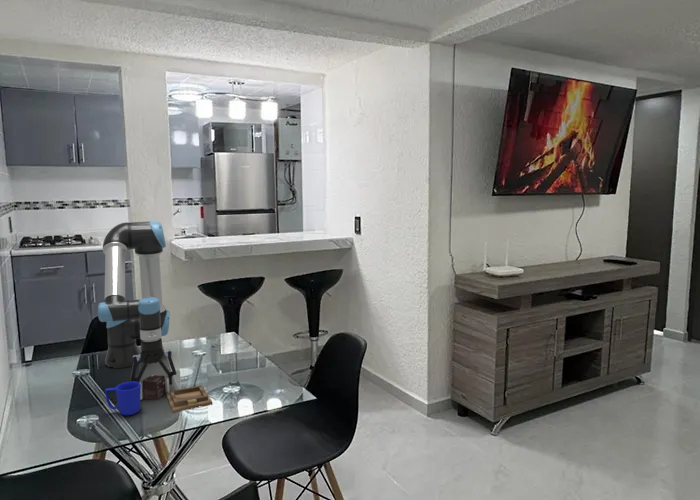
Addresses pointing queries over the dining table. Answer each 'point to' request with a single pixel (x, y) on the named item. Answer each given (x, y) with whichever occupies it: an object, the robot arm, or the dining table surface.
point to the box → (154, 387)
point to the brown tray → (188, 398)
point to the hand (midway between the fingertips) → (154, 395)
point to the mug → (126, 397)
